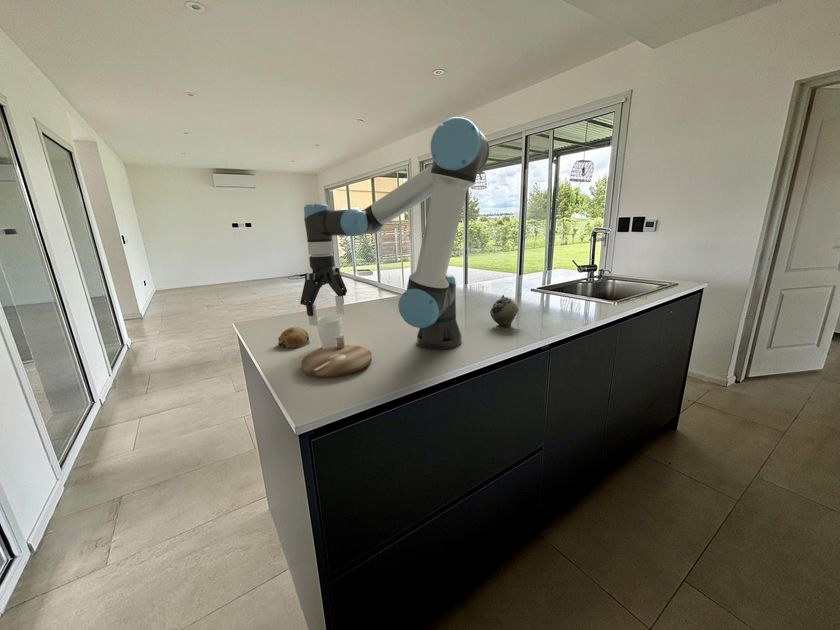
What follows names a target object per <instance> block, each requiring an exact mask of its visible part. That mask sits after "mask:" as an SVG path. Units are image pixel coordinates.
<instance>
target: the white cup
mask: <svg viewBox="0 0 840 630" xmlns="http://www.w3.org/2000/svg"><path fill="white" fill-rule="evenodd" d="M317 322H318V325H317V326H316V327H317V330H318V335H319V341H320V344H321V349H324V348H328V347H334V346H337V339H336V338H337V336H343V332H342V331H343V330H342V329H343V327H342V316H338V315H326V316H322V317H319V318H317Z"/></svg>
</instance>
